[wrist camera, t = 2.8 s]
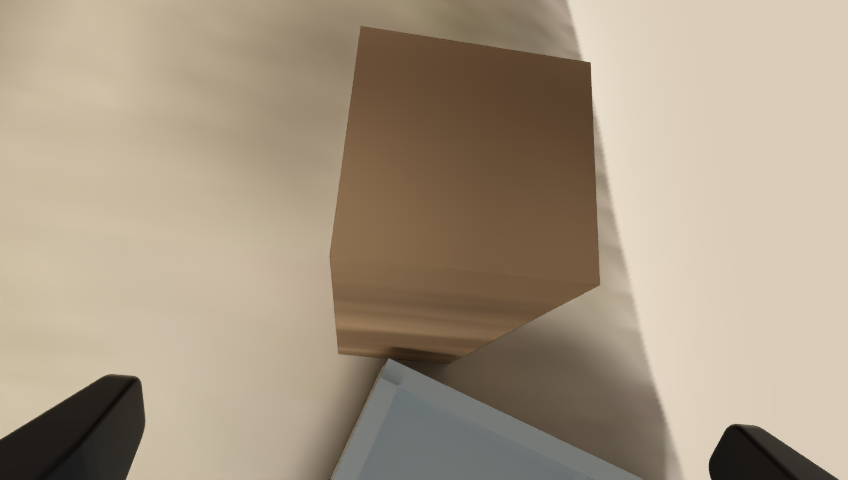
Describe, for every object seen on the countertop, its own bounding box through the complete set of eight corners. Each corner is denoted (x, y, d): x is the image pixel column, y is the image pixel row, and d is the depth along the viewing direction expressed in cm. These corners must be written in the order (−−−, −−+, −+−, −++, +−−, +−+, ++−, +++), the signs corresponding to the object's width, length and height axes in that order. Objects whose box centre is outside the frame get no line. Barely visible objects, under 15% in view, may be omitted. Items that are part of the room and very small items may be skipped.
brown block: (449, 363, 19) (600, 284, 8) (338, 353, 19) (329, 255, 7) (454, 258, 20) (590, 62, 9) (351, 247, 20) (360, 25, 9)
